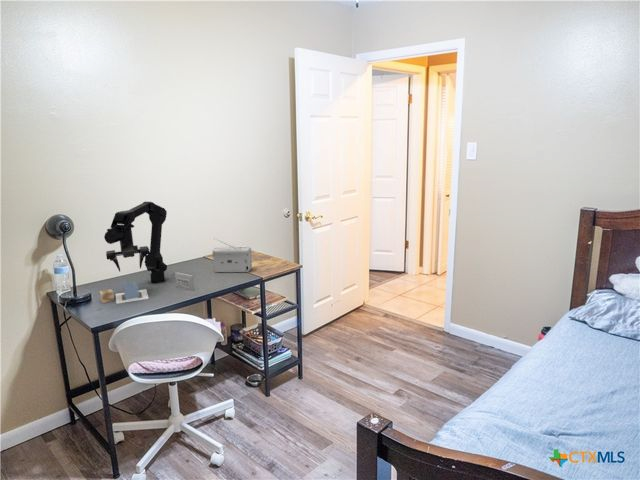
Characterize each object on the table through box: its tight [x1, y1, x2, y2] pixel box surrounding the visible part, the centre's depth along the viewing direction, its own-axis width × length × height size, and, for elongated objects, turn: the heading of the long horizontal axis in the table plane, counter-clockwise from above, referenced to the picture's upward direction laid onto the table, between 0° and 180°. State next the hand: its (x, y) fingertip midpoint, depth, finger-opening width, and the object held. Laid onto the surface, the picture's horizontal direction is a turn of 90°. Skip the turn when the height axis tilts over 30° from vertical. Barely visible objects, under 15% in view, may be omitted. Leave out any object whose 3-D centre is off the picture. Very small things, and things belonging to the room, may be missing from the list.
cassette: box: [174, 271, 195, 291], centre depth 224 cm, size 12×2×8 cm, turn 59°
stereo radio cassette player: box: [211, 237, 253, 274], centre depth 249 cm, size 21×8×20 cm, turn 90°
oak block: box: [99, 288, 115, 304], centre depth 208 cm, size 5×5×5 cm
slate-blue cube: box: [123, 281, 139, 299], centre depth 213 cm, size 6×6×6 cm
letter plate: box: [115, 288, 149, 304], centre depth 214 cm, size 14×14×1 cm
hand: (130, 269), depth 214 cm, fingers open, 9 cm apart
